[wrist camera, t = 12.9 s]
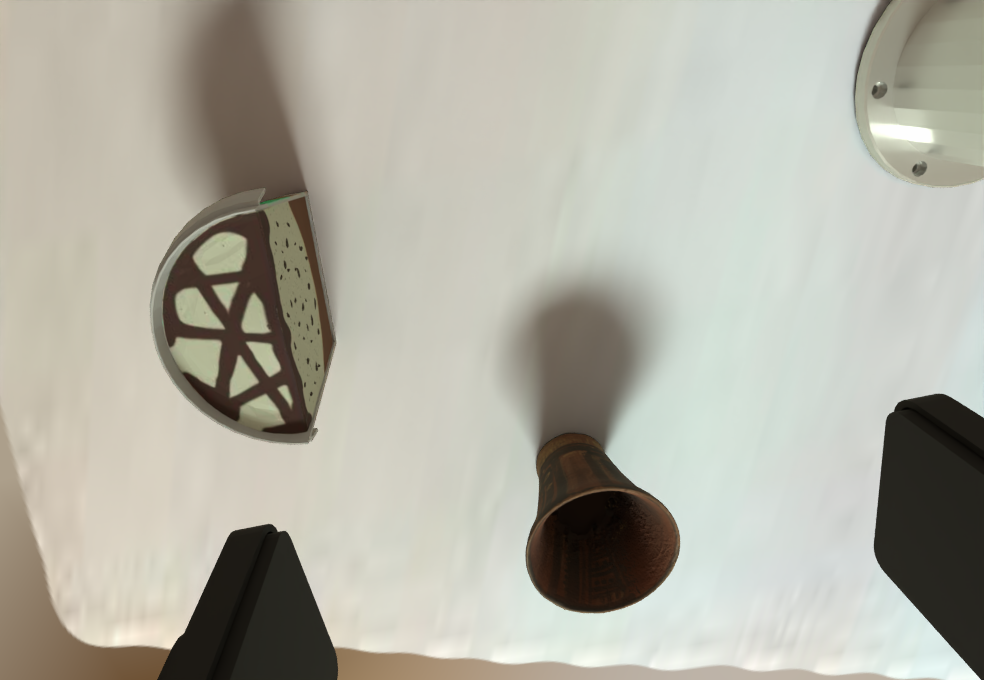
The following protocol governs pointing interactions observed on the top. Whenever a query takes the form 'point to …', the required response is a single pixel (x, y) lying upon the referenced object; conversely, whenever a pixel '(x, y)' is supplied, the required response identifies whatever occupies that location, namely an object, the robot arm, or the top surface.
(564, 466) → the cup
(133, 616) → the top surface
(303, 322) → the food container
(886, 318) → the top surface
